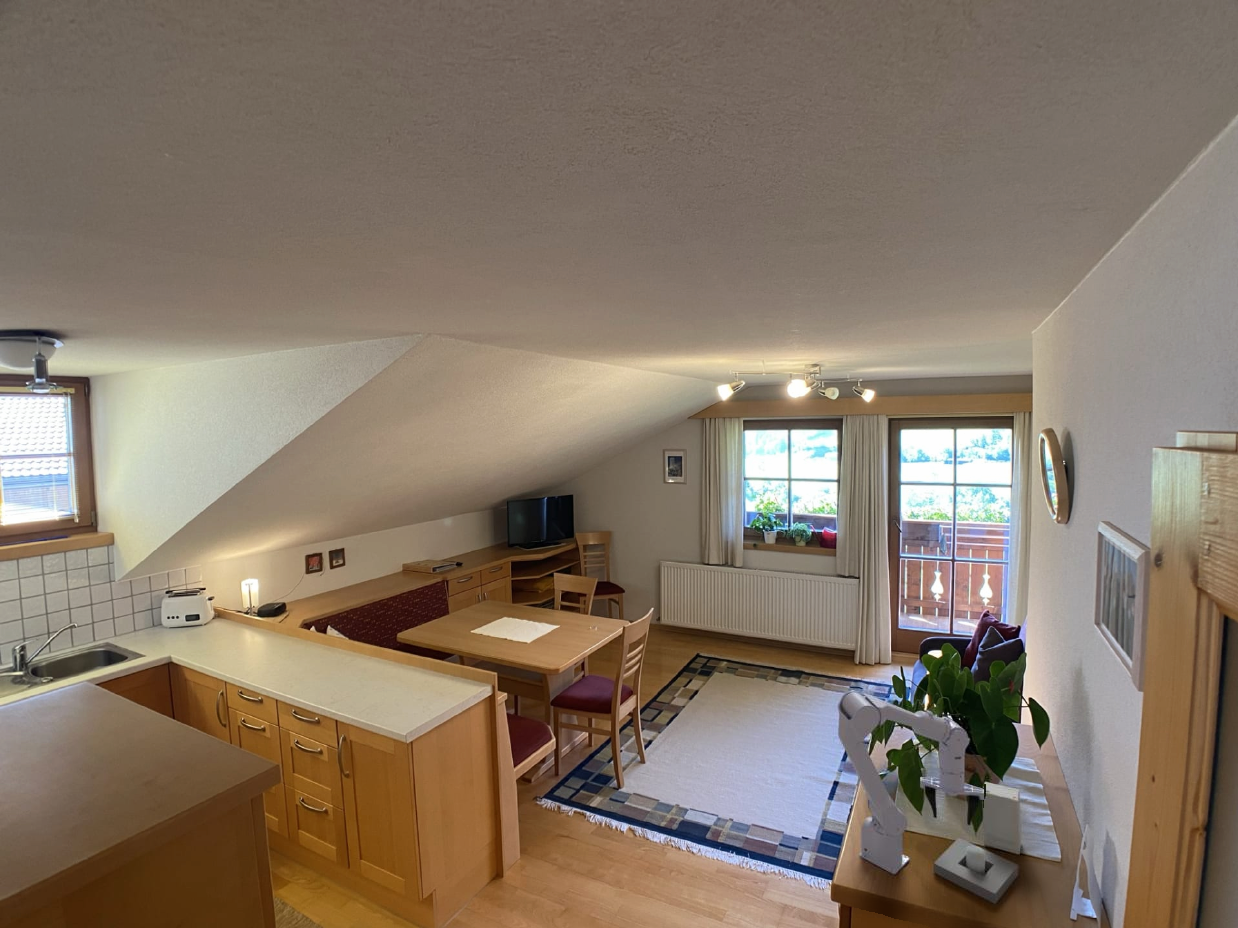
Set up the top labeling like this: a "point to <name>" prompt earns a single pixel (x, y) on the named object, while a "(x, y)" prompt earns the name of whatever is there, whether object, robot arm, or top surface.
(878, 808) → the robot arm
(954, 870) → the dock
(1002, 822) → the skincare box
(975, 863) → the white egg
